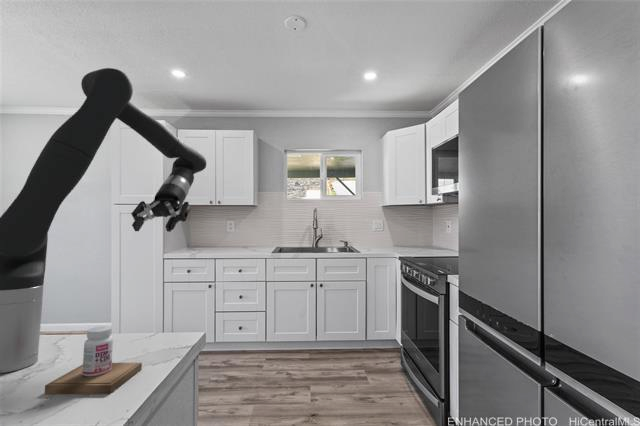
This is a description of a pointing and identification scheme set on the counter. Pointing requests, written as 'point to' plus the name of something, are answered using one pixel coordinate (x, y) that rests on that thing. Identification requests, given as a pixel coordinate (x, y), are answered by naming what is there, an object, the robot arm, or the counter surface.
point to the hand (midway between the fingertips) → (151, 229)
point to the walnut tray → (93, 380)
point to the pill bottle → (98, 351)
